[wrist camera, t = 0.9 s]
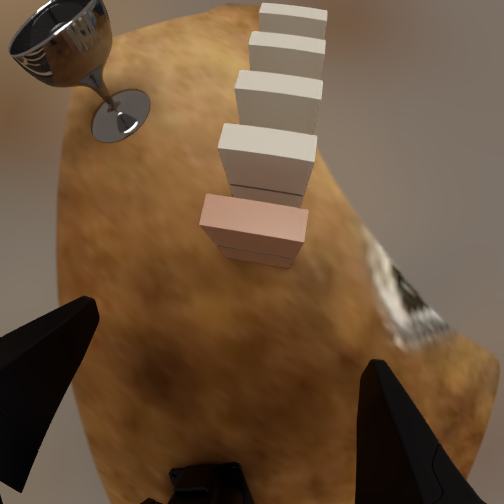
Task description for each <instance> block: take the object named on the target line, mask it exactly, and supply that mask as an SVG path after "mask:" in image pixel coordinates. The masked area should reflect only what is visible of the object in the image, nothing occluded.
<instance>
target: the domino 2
mask: <svg viewBox="0 0 504 504" xmlns="http://www.w3.org/2000/svg"><path fill="white" fill-rule="evenodd" d="M316 144H317V136H314V135H309V134H303V133H297V132H291V131H284V130H278V129H271V128H263V127H255V126H247V125H238V124H228V123H224V126H223V130H222V133H221V137H220V141H219V145H218V151H219V154H220V157H221V160H222V163H223V167H224V170H225V173H226V176H227V179H228V182H229V186H230V189H231V192H232V195H233V197H234V198H241V199H247V200H254V201H260V202H266V203H272V204H278V205H284V206H290V207H296V208H300V207H301V204H302V201H303V197H304V194H305V191H306V188H307V185H308V181H309V178H310V175H311V172H312V168H313V165H314V162H315V153H316Z"/></svg>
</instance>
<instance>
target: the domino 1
mask: <svg viewBox="0 0 504 504" xmlns="http://www.w3.org/2000/svg"><path fill="white" fill-rule="evenodd" d="M308 211H309V210H307V209H302V208H296V207H290V206H284V205H278V204H272V203H266V202H260V201H254V200H247V199H241V198H234V197H227V196H220V195H213V194H206V197H205V202H204V206H203V210H202V215H201V219H200V223H199V225H200V226H201V228H202V229H203V230H204V231H205V232H206V234H207V235H208V236H209V237H210V238H211V240H212V241H213V242H214V243H215V244H216V246H217V247H218V248H219V249H220V251H221V252H222V253H223V254H224V255H225V257H226V258H232V259H237V260H243V261H249V262H254V263H260V264H266V265H271V266H277V267H283V268H290V266H291V264H292V263H293V261H294V259H295V257H296V256H297V254H298V252H299V250H300V248H301V247H302V245H303V243H304V239H305V232H306V225H307V218H308Z"/></svg>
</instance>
